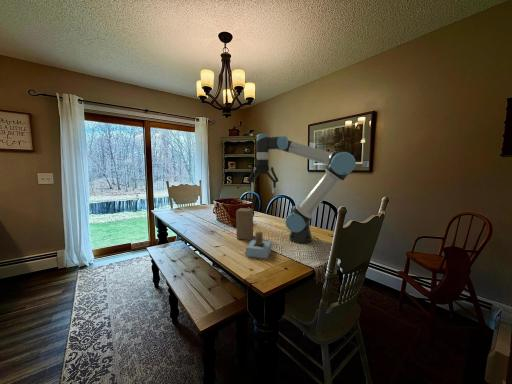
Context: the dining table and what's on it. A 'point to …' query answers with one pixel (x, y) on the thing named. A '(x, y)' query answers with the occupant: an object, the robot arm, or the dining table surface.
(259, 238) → the walnut peg
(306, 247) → the dining table surface
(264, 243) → the socket block
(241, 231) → the wooden block
